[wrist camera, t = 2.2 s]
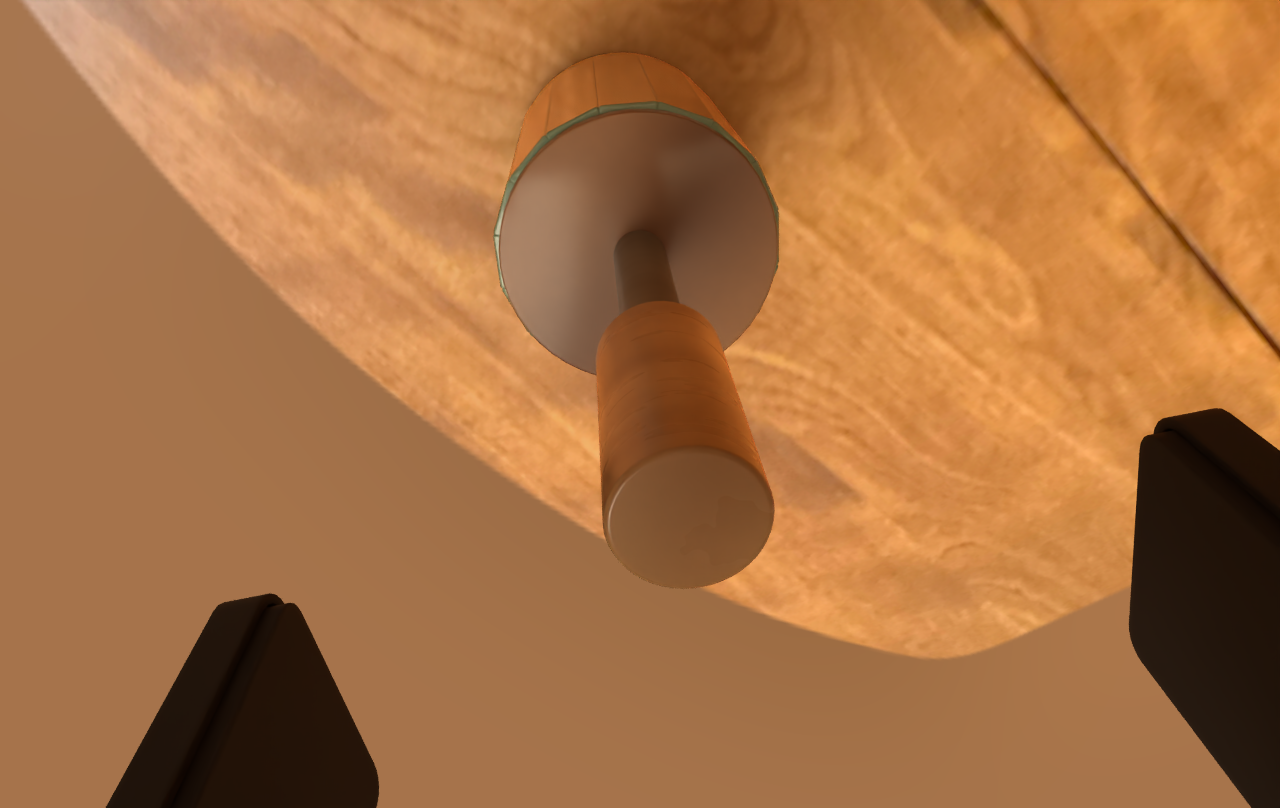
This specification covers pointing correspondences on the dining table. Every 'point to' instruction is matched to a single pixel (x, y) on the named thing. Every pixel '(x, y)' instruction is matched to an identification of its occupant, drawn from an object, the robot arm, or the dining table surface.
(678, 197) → the brush
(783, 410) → the dining table surface
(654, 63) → the holder
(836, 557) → the dining table surface
